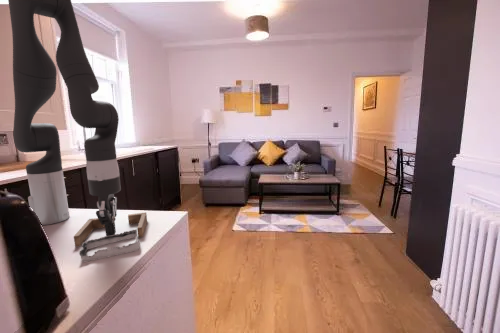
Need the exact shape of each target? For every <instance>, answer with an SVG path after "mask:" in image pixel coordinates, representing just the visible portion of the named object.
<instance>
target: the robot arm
mask: <svg viewBox="0 0 500 333" xmlns="http://www.w3.org/2000/svg"><path fill="white" fill-rule="evenodd" d="M8 8H9V15H10V16H9V18H10V23H11V32H12V35H11V36H12V81H13V92H14V113H13V114H14V117H13V132H12V133H13V134H12V135H13V144H14V146H15V147H16V149H17V151H19V152H21V153H37V152H38V153H39V152H45V154H44V156H42V157H41V158H39V159H37V160H35V161H33V162H30V163H28V164H26V166H25V172H26V176H27V181H28V186H29V193H30V195H29V196H28V197H27V200H28V207H29V206H30V207H31V208H32V209H33V211H34V212H35V213H36V215H37V216H38V218H39V220H40V222H41V224H42V225H41V226H46V225H51V224H52V225H53V224H58V223H61V222H63V221H66V220H68V219H69V218H70V210H69V204H68V197H67V190H66V185H65V184H66V183H65V177H64V170H63V164H62V162H63V160H62V155H61V146H60V145H61V142H60V135H59V130H58V128H57V127H56V125H55V124H53V123H49V122H48V123H47V122H46V123H44V122H43V123H42V122H41V123H40V122H33V119H34V117H35V115H36V113H37V112H38V111H39V110H40V109H41V108H42V107H43V106H44V105H45V104H46V103H47V102H48V101H49V100H50V99H51V97H53V95H54V94H55V92H56V89H57V74H58V73H57V69H58V70H59V73H60V76H61V77H62V79H63V82H64V83H65V86H66V88H67V95H68V103H69V110H70V114H71V117H72V119H73V120H74V121H75V123H76V124H77V125H79V126H80V127H82V128H84V129H95V131H94V134H93V136H91V137H89V138H86V139H85V141H84V153H85V162H86V168H85V169H86V176H87V178H86V179H87V183H88V184H87V186H88V192H89V195H90V196H95V197H98V201H96V206H97V208H98V210H96V212H95V215H96V218H98V219H99V221H100V223H101V225H104V224H105V228H104V231H105V236H111V235H114V234H117V231H116V222H115V221H116V217H117V210H118V209H117V208H118V206H117V204H118V197H117V196H115V194H117V193H119V192H120V191H121V190H122V187H121V177H120V176H121V174H120V168H119V163H118V160H117V159H118V158H117V151H116V140H117V135H118V134H117V133H118V128H119V114H118V111H117V109H116V107H115V106H114V105H113V104H112V103H111V102H108V101H103V100H94V99H93V98H92V97H93V96H92V95H93V94H96V92H98V90H99V88H100V86H99V81H98V79H97V77H96V75H95V72H94V70H93V68H92V66H91V64H90V61H89V59H88V56H87V54H86V50H85V48H84V44H83V41H82V37H81V32H80V28H79V26H78V22H77V18H76V13H75V11H74V6H73V3H72V0H8ZM35 15H38V16H42V17H47V18H51V19H54V20H55V21H56V23H57V24H58V27H59V29H60V37H59V40H58V45H57V48H56V53H55V62H56V64H55V62H54V60H53V59H52V57H51V55H50V54H49V53H48V51H47V50H46V48H45V47H44V46H43V44H42V42H41V40H40V39H39V36H38V35H37V31H36V27H35V20H34V19H35ZM56 65H57V66H56ZM30 207H29V208H30Z"/></svg>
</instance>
